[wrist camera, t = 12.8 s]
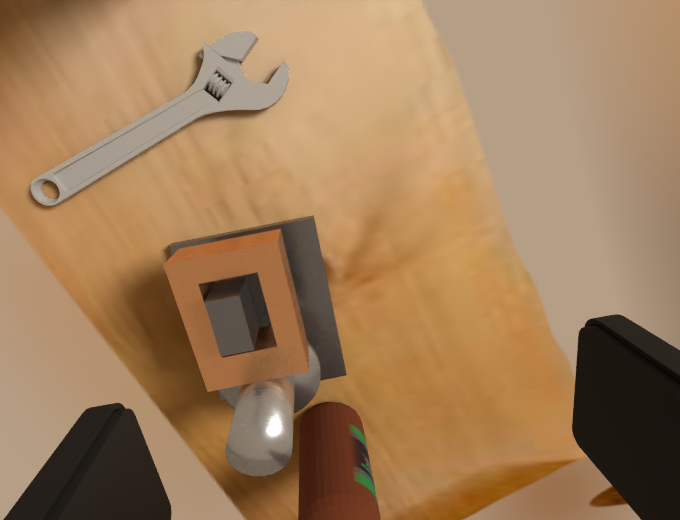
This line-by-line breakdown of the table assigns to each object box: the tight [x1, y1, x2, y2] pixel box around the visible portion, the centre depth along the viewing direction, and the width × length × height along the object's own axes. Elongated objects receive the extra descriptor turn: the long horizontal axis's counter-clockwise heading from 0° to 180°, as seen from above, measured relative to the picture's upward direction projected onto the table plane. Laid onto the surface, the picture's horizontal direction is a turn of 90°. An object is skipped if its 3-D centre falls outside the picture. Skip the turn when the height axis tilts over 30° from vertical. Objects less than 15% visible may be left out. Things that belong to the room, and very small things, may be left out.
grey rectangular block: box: [204, 272, 265, 356], centre depth 34 cm, size 4×2×11 cm, turn 9°
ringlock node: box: [163, 216, 346, 476], centre depth 35 cm, size 19×14×15 cm
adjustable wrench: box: [31, 32, 289, 206], centre depth 35 cm, size 25×6×2 cm, turn 114°
